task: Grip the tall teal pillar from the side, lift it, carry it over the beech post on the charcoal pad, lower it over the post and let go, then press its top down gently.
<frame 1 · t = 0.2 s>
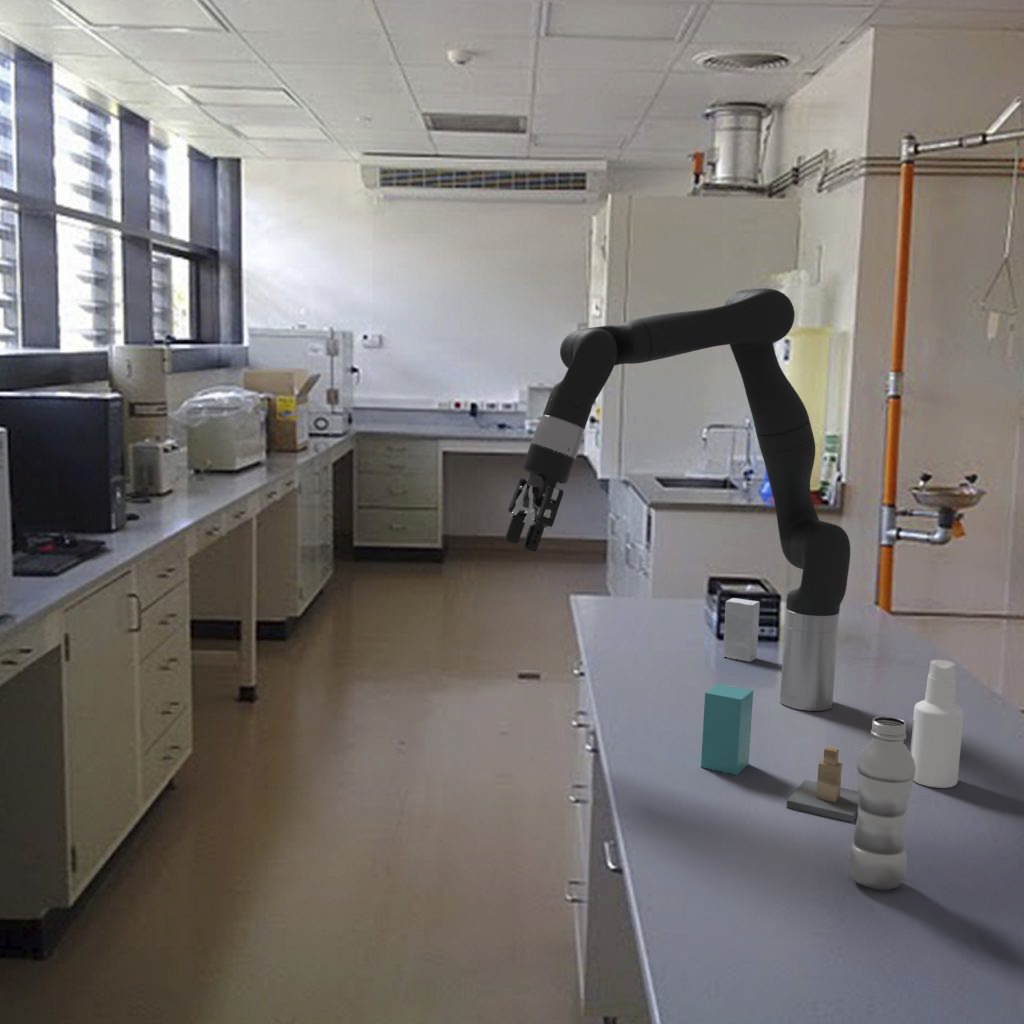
hand: (519, 545, 177), 31 cm above the countertop, tool tilted 20°, fingers open, 8 cm apart
spray bottle: (932, 781, 166), on the countertop
skincare box: (739, 658, 231), on the countertop
post: (827, 803, 156), on the countertop
teal pillar: (724, 765, 170), on the countertop
plastic bottle: (875, 885, 133), on the countertop
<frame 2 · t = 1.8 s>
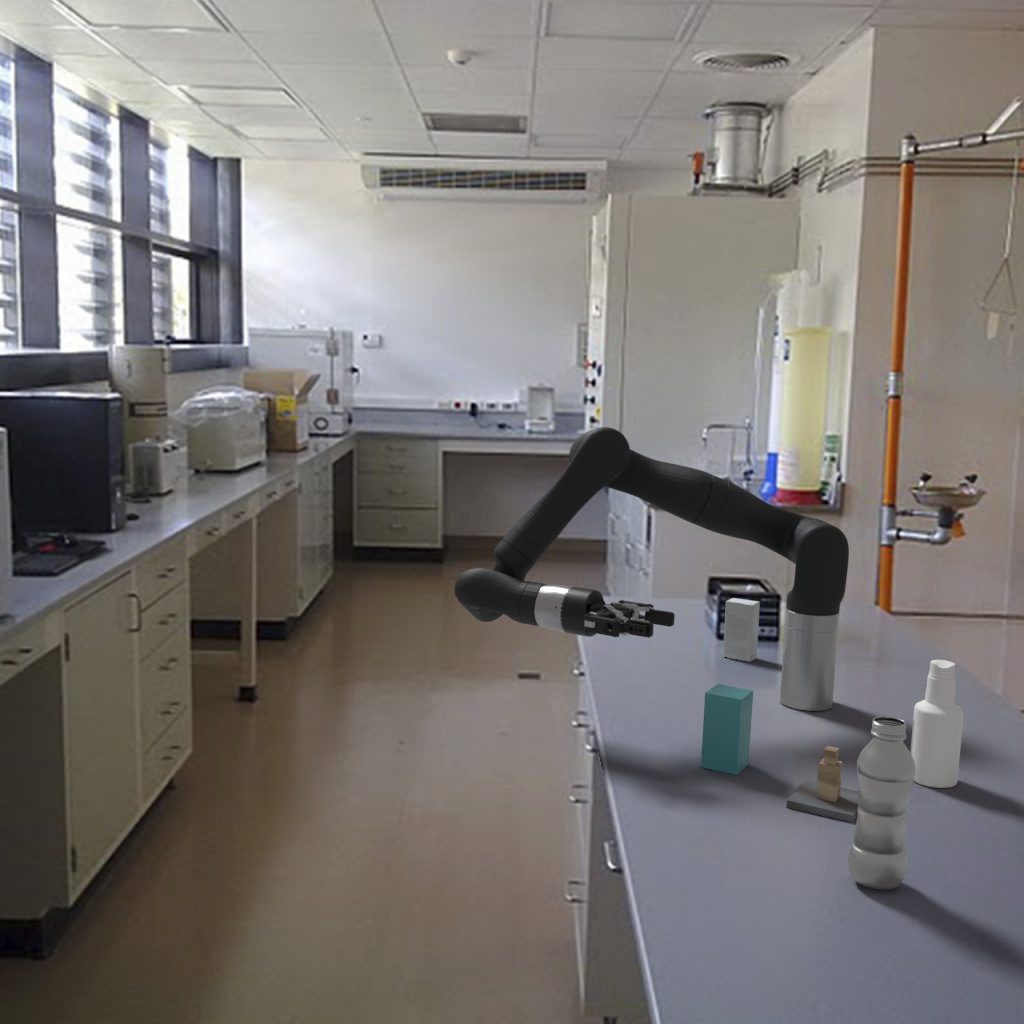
hand: (663, 625, 172), 20 cm above the countertop, tool horizontal, fingers open, 8 cm apart
nothing on the countertop moved.
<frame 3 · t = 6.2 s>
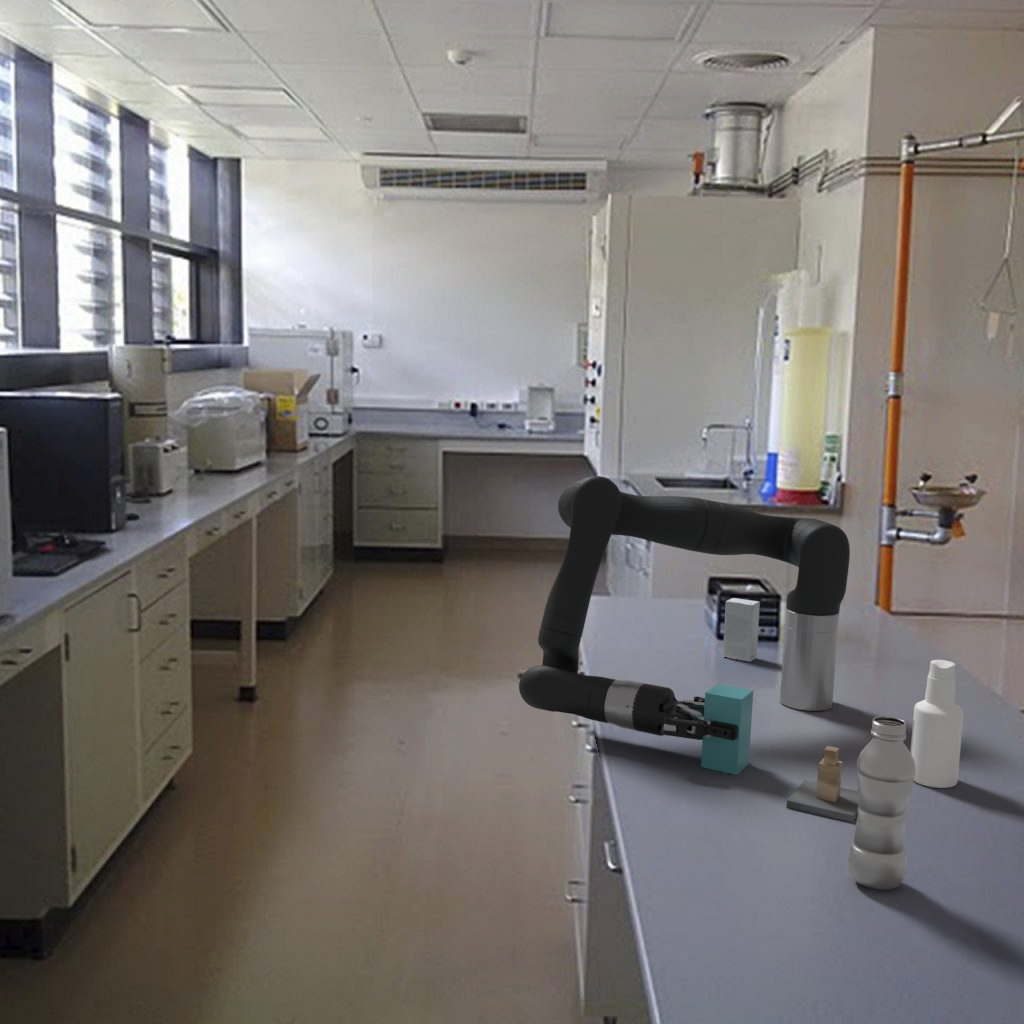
hand: (743, 727, 168), 7 cm above the countertop, tool horizontal, fingers closed on teal pillar, 5 cm apart
teal pillar: (725, 765, 170), on the countertop, touching gripper
everything else where it was.
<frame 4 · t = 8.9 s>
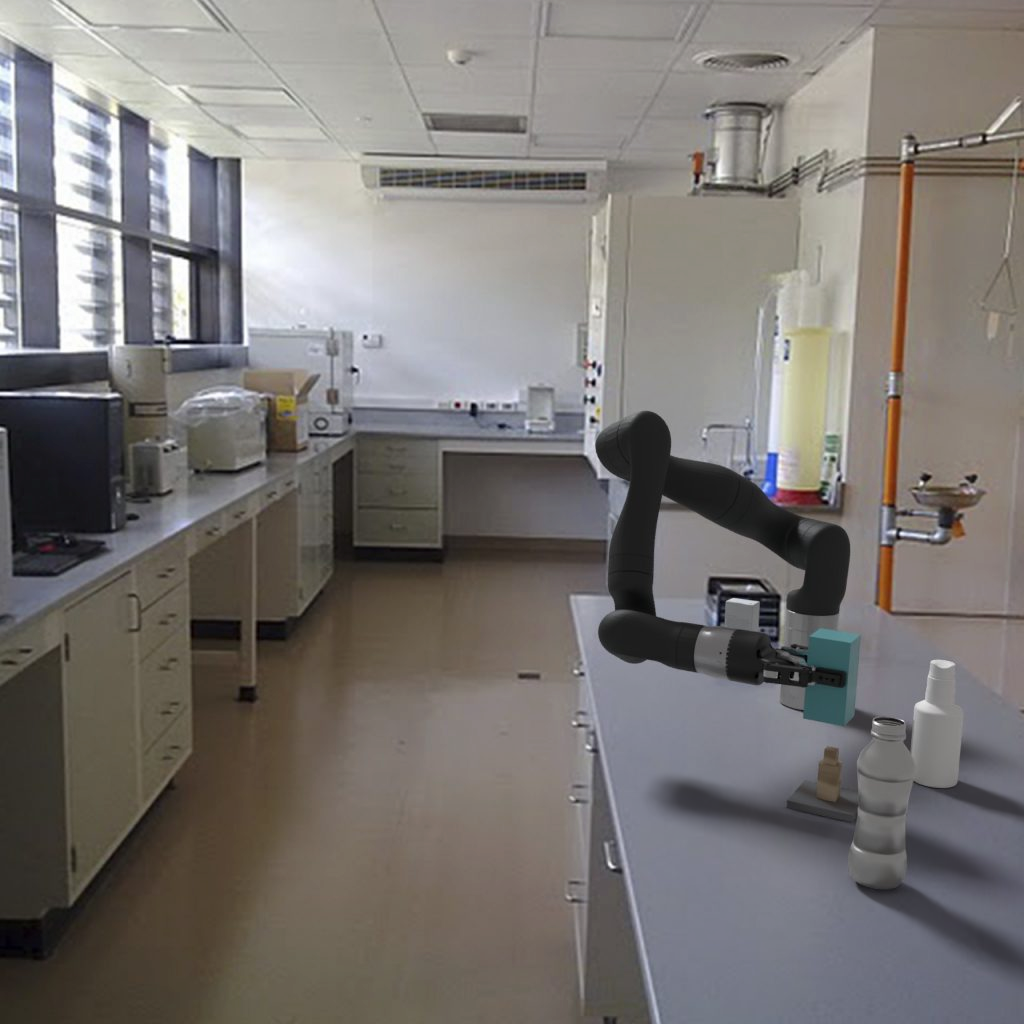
hand: (850, 674, 153), 19 cm above the countertop, tool horizontal, fingers closed on teal pillar, 5 cm apart
teal pillar: (828, 717, 155), point 12 cm above the countertop, touching gripper
everything else where it was.
when the fingers open (8 cm above the countertop, at t = 11.5 s): teal pillar stays where it is, resting on post.
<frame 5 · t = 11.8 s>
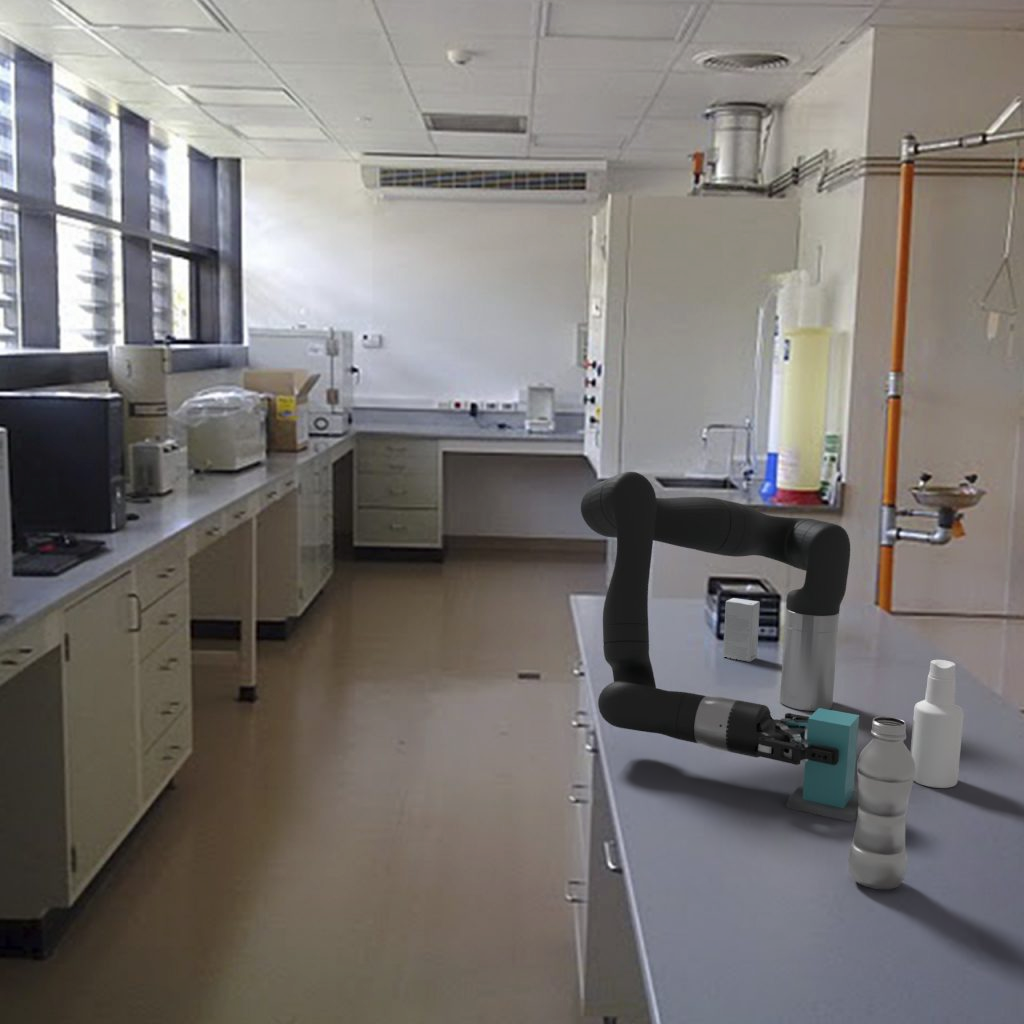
hand: (845, 748, 154), 8 cm above the countertop, tool horizontal, fingers open, 8 cm apart
teal pillar: (827, 797, 156), point 1 cm above the countertop, touching post
everything else where it was.
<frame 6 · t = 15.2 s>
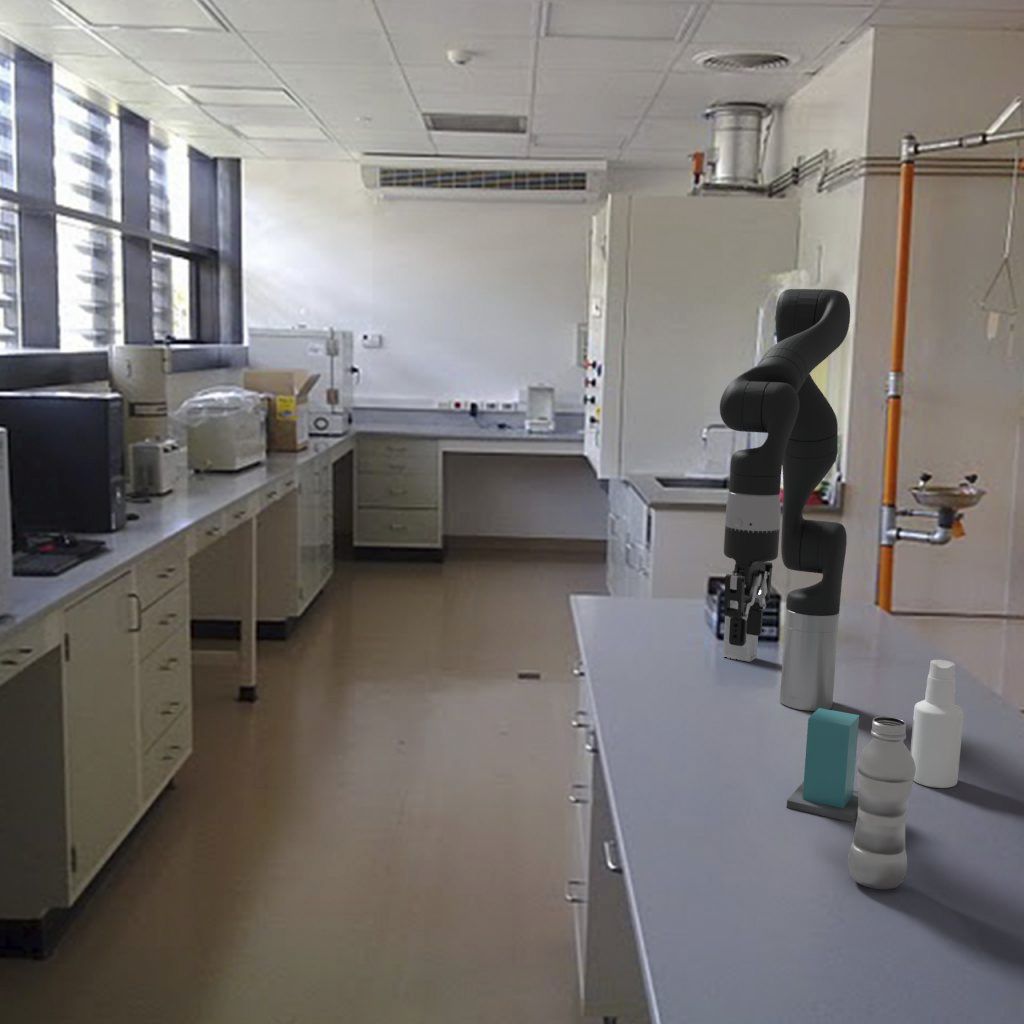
hand: (745, 639, 160), 22 cm above the countertop, tool pointing down, fingers open, 6 cm apart
nothing on the countertop moved.
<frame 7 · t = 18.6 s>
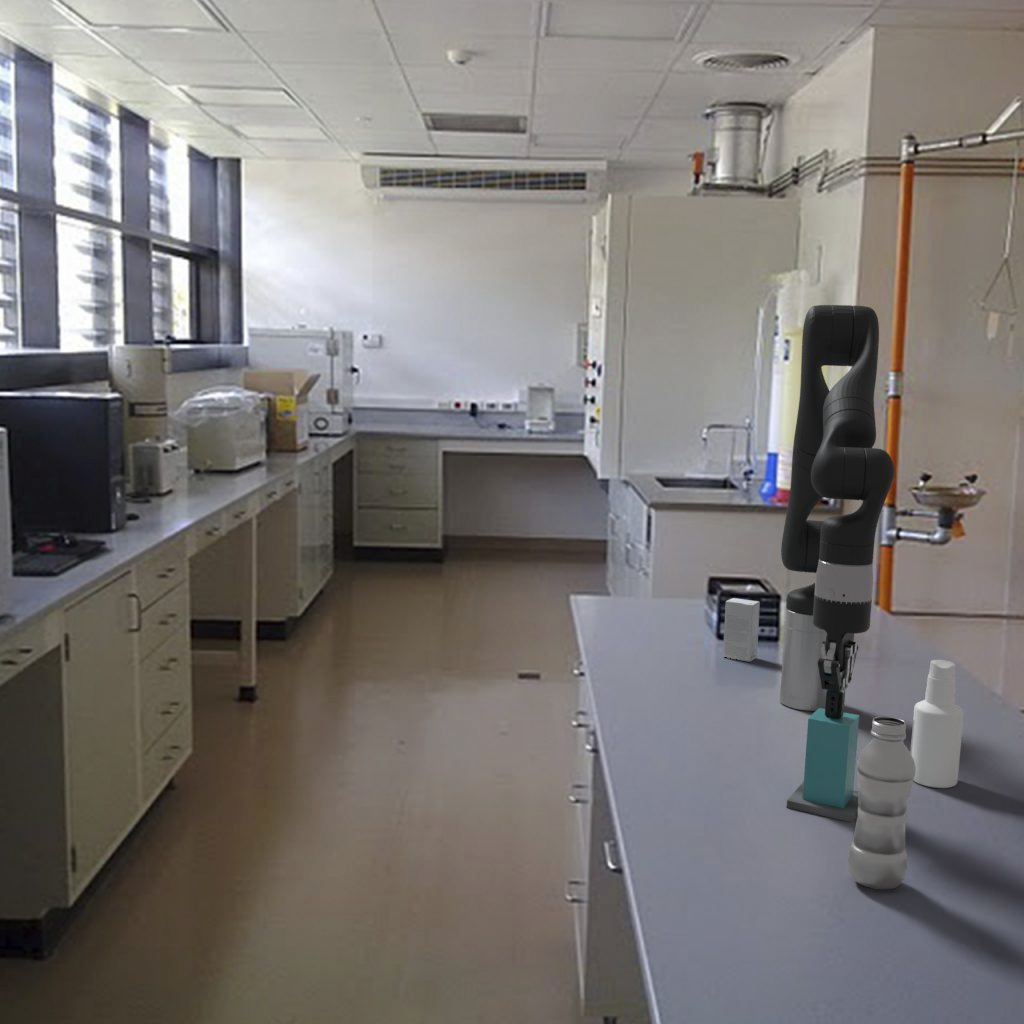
hand: (834, 716, 154), 13 cm above the countertop, tool pointing down, fingers closed
teal pillar: (827, 797, 156), point 1 cm above the countertop, touching gripper, post
everything else where it was.
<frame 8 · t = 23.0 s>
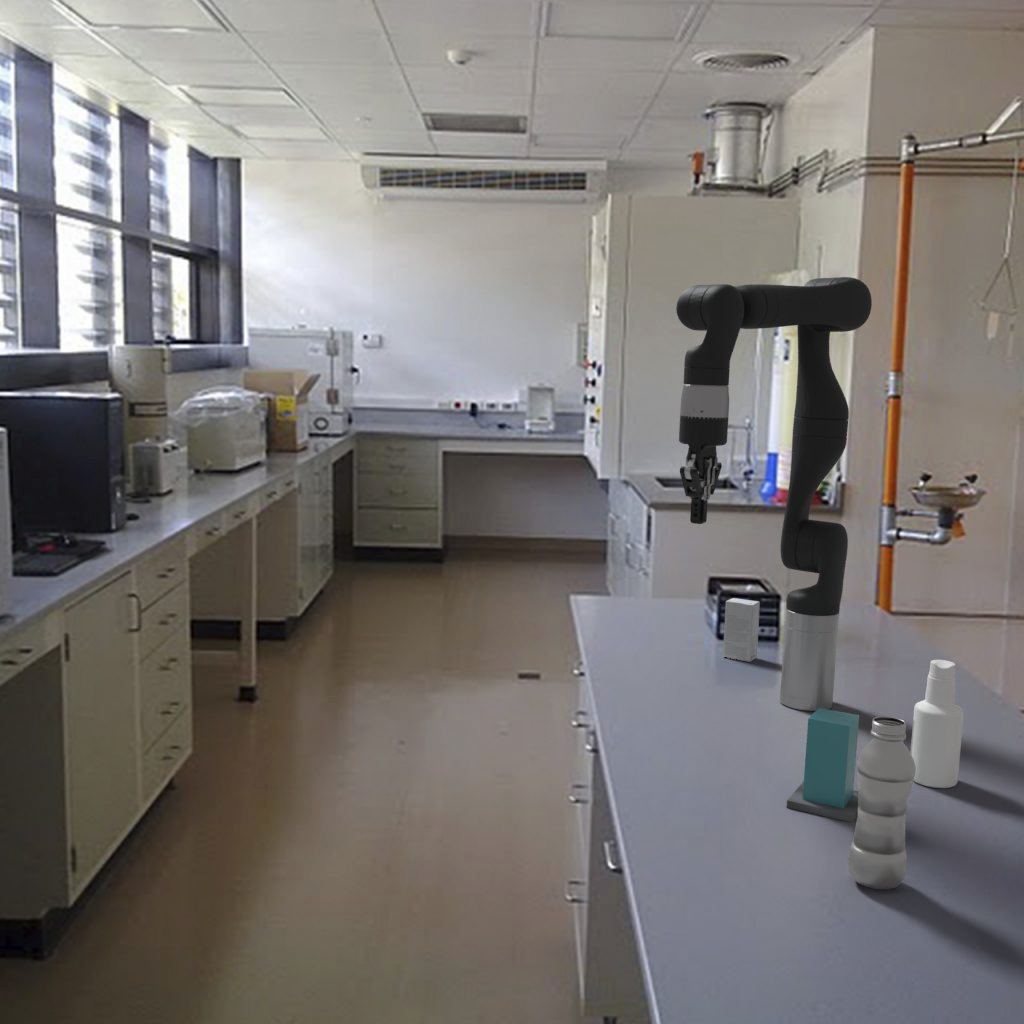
hand: (698, 522, 178), 35 cm above the countertop, tool pointing down, fingers closed
teal pillar: (827, 797, 156), point 1 cm above the countertop, touching post
everything else where it was.
at the end: teal pillar 0.0 cm from the post (horizontally); teal pillar point 1.0 cm above the countertop; teal pillar tilted 0° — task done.
